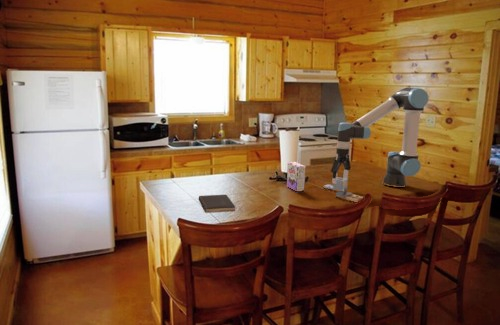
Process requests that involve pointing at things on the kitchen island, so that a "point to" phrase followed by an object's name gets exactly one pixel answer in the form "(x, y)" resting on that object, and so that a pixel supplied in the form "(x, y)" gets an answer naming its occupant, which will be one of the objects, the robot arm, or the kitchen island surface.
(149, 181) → the kitchen island surface
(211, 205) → the hardcover book
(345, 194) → the gray block on stand
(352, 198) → the frame leaf
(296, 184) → the candy box
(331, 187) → the grey l-shaped block
